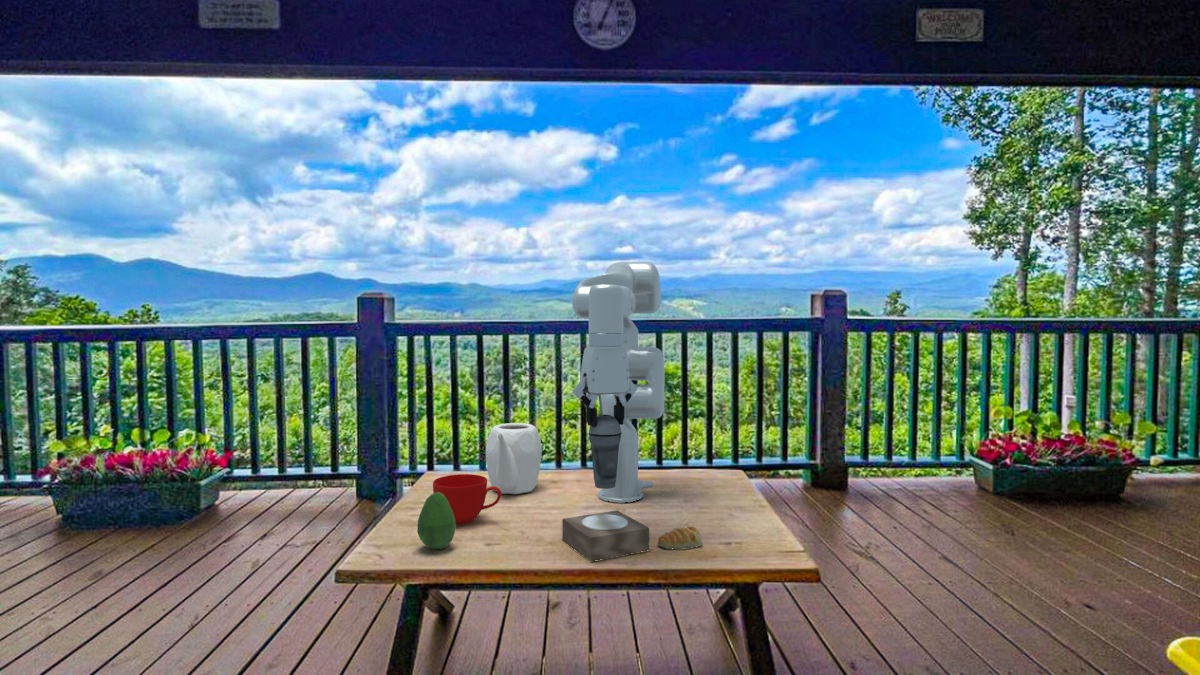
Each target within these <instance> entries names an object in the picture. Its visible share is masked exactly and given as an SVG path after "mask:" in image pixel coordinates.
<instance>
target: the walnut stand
mask: <svg viewBox="0 0 1200 675" xmlns="http://www.w3.org/2000/svg"><path fill="white" fill-rule="evenodd" d="M561 524H562V528H561V529H562V532H561V533H562V534H561V535H562V537H561V538H562V542H563V543H564V542H565V543H564V544H566V545H567V544H568V545H569V548H571V547H572V548H573V550H574V549H575V550H576V551H577V552H576V551H575V550H574V551H575V552H576V553H578V552H579V553H580V554H581V555H583V556H584V557H585V558H587V559H588V560H589V561H595V560H600V559H606V558H611V557H616V556H621V557H623V556H622V555H626V554H631V553H637V552H641V551H647V550H649V551H650V527H649V526H646V524H643V523H641V522H639V521H638V520H636V519H634V518H632V517H631V516H629V515H627V514H625V513H623V512H621V511H619V509H618V510H612V511H603V512H597V513H592V514H586V515H585V514H584V515H579V516H571V517H565V518H562V523H561ZM568 545H567V546H568ZM572 548H571V549H572ZM647 552H648V551H647ZM579 553H578V554H579ZM580 554H579V555H580ZM637 554H638V553H637ZM581 555H580V556H581ZM583 556H582V557H583ZM584 557H583V558H584ZM585 558H584V559H585ZM616 558H617V557H616ZM587 559H586V560H587ZM611 559H612V558H611ZM588 560H587V561H588ZM606 560H607V559H606ZM589 561H588V562H589ZM600 561H601V560H600ZM595 562H596V561H595Z"/></svg>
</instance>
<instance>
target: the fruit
mask: <svg viewBox="0 0 1200 675" xmlns="http://www.w3.org/2000/svg"><path fill="white" fill-rule="evenodd" d="M456 529H457V525H456V523H455V517H454V514H453V511H452V509H451V507H450V505H449V502H448V500H447V498H446V497H445V496H444V495H443V494H442V493H440V492H436V493H431V494H430V495H429V496H428V497H427V498H426V499H425V502H424V503H423V506H422V508H421V510H420V513H419V516H418V519H417V531H416V532H417V535H418V537H419V539H420V541H421V542H422V544H424V546H426V547H428V548H430V549H433V550H442V549H444V548H447V546H449V544H451V542H452V540H453V539H454V536H455V534H456Z"/></svg>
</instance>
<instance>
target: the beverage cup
mask: <svg viewBox="0 0 1200 675" xmlns="http://www.w3.org/2000/svg"><path fill="white" fill-rule="evenodd" d="M598 401H599V410H600V412H599V413H600V415H597V426H596V427H592V426H589V430H588V435H589V436H588V438H589V443H590V448H591V450H590V451H591V461H592V471H593V472H592V473H593V480H594V488H597V489H600V490H602V489H610V488H614V487H615V483H616V477H617V465H618V452H619V443H620V439H621V434H622V433H621V428H620V424H619V422H618V421H617V420H616V419H615V418H614V417H613V416H611V415H603V409H602V401H601V395H598Z"/></svg>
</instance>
